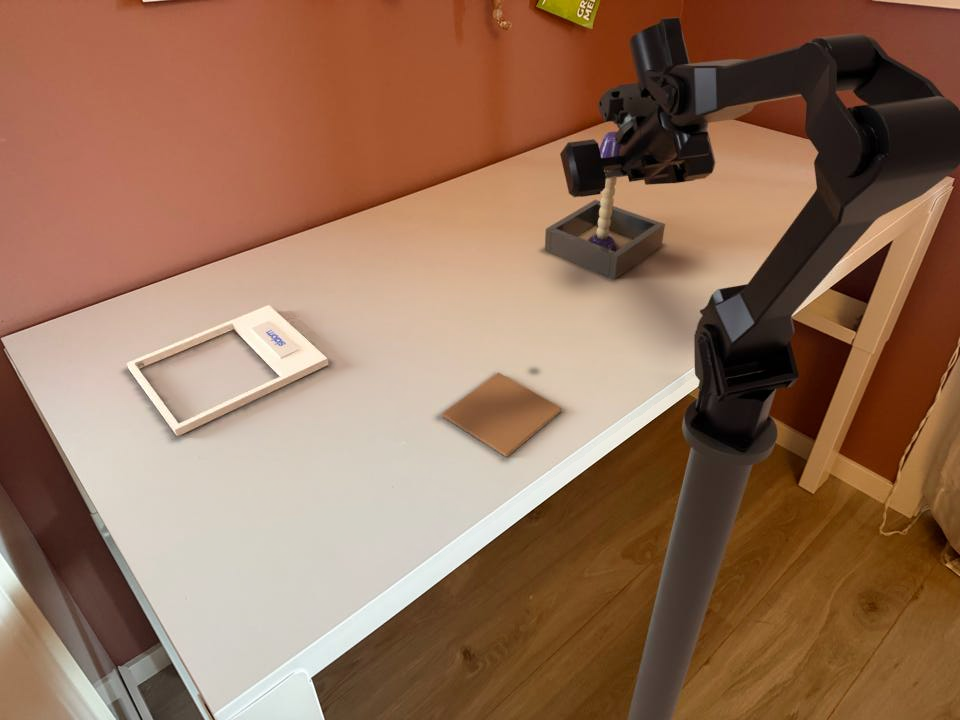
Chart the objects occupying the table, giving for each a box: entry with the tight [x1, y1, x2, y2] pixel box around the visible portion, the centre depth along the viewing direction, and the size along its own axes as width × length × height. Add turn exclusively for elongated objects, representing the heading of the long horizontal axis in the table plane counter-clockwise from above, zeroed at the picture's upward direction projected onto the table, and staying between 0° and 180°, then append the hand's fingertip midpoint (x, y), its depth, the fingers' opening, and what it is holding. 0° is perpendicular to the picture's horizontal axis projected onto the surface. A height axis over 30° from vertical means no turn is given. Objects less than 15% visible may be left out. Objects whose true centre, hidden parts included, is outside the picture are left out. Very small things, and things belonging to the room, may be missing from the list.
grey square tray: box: [544, 199, 666, 280], centre depth 102 cm, size 12×12×4 cm
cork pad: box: [442, 372, 563, 458], centre depth 76 cm, size 9×9×1 cm
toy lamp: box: [587, 131, 623, 252], centre depth 98 cm, size 5×5×17 cm
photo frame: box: [126, 304, 329, 437], centre depth 83 cm, size 15×1×18 cm
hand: (614, 185), depth 96 cm, fingers open, 9 cm apart
